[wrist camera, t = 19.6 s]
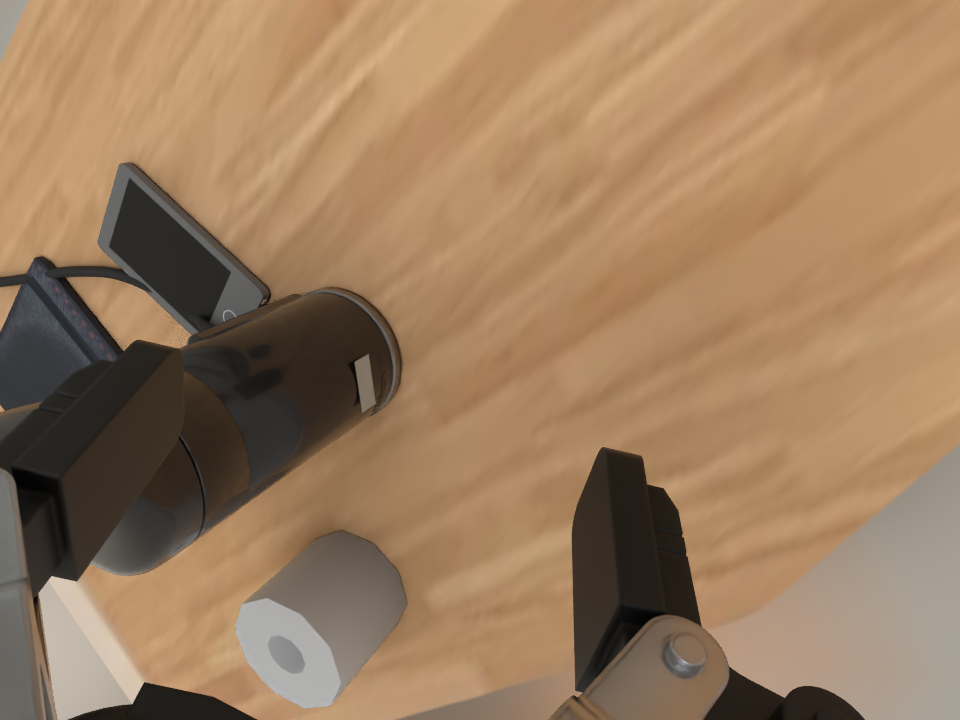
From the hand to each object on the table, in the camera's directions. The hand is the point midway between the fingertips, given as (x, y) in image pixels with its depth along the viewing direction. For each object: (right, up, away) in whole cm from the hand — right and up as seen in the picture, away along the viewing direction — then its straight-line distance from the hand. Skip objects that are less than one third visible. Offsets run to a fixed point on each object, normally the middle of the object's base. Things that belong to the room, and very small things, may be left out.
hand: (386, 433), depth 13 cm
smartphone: (-21, +9, +40) cm, 46 cm away
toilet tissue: (-9, -17, +45) cm, 49 cm away
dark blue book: (-37, 0, +52) cm, 64 cm away
